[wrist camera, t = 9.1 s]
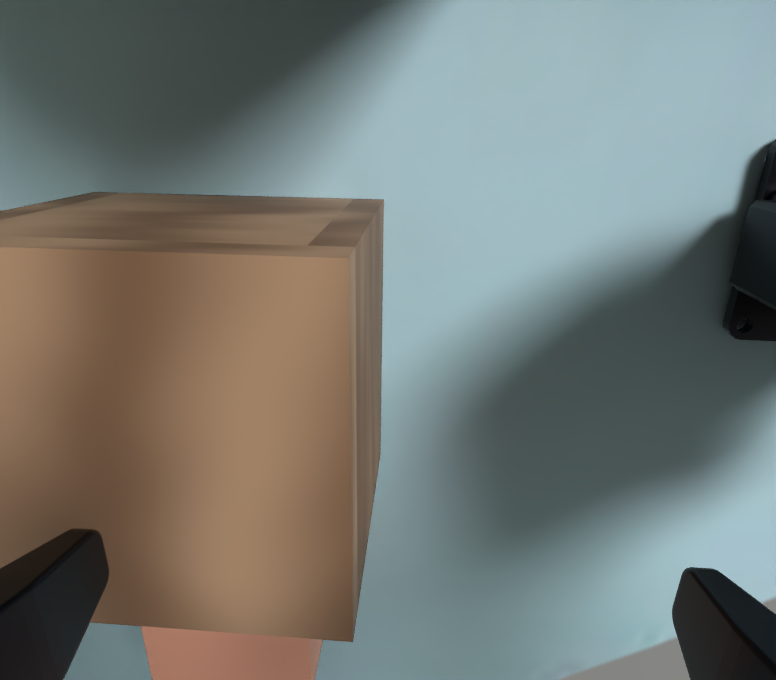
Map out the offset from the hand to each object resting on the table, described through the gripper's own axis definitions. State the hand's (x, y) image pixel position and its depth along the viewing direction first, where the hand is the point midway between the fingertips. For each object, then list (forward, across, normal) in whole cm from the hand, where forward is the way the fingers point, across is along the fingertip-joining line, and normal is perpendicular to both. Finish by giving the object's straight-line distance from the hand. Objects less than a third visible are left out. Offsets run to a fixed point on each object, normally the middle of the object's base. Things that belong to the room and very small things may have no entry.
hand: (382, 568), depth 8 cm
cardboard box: (+12, +6, +1) cm, 13 cm away
